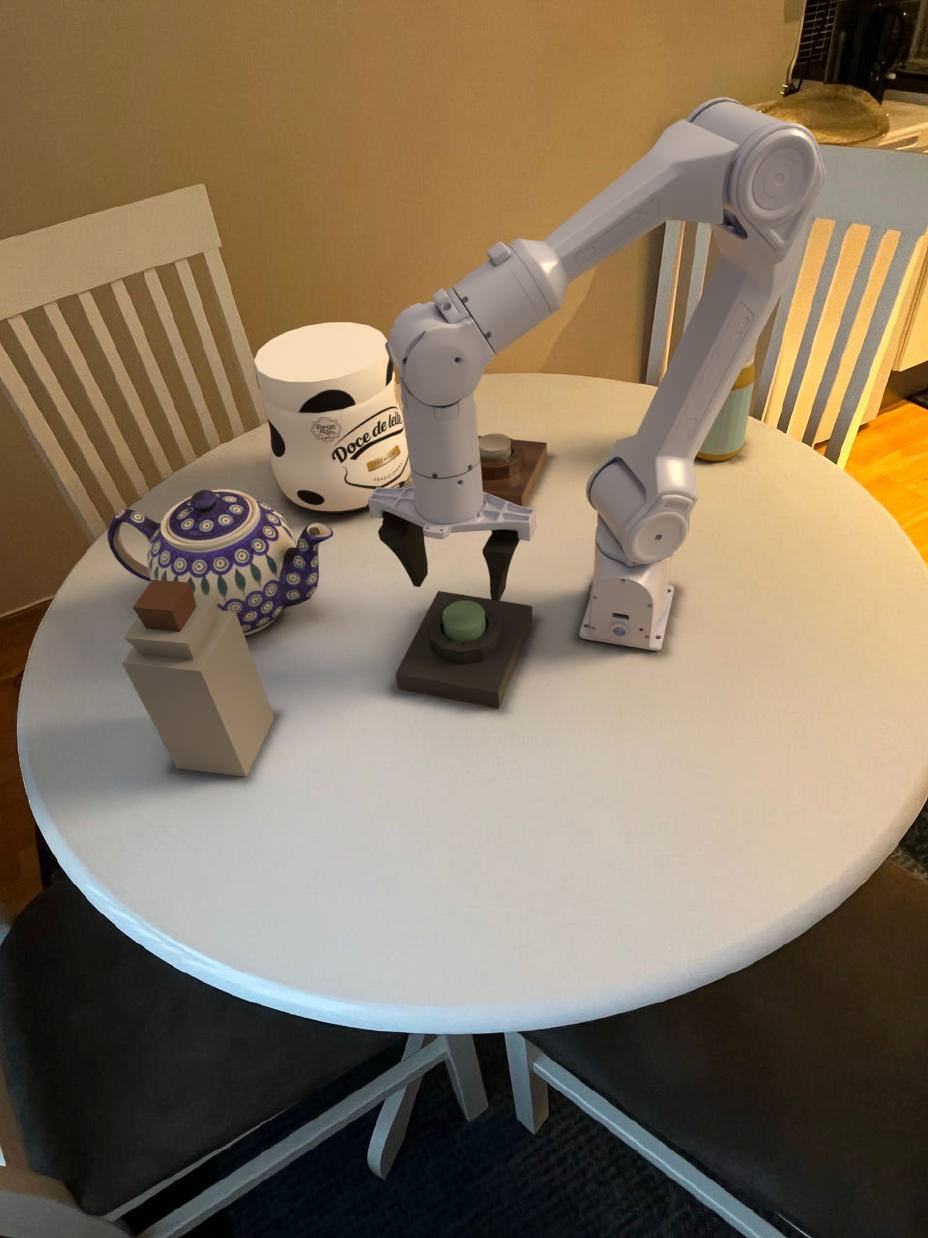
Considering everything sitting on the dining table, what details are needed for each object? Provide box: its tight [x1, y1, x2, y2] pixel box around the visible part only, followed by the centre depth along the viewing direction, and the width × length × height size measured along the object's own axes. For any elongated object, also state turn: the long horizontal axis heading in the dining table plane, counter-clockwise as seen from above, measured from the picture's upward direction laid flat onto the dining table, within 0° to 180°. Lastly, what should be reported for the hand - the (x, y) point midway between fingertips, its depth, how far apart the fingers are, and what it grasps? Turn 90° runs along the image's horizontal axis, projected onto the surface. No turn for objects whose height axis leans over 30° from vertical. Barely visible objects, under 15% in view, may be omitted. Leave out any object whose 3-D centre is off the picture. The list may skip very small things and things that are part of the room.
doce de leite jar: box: [253, 321, 411, 514], centre depth 99 cm, size 17×17×18 cm
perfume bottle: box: [121, 580, 275, 778], centre depth 70 cm, size 7×7×18 cm
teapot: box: [107, 488, 334, 636], centre depth 85 cm, size 25×15×15 cm, turn 76°
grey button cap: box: [479, 432, 511, 462], centre depth 101 cm, size 4×4×2 cm
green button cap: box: [442, 601, 486, 642], centre depth 79 cm, size 4×4×2 cm
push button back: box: [478, 435, 548, 507], centre depth 102 cm, size 12×10×4 cm
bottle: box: [695, 340, 758, 462], centre depth 100 cm, size 7×7×15 cm
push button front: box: [395, 590, 534, 709], centre depth 80 cm, size 12×10×4 cm
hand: (459, 586), depth 76 cm, fingers open, 7 cm apart
